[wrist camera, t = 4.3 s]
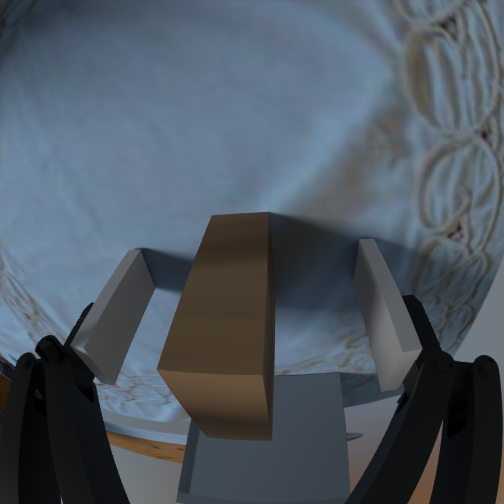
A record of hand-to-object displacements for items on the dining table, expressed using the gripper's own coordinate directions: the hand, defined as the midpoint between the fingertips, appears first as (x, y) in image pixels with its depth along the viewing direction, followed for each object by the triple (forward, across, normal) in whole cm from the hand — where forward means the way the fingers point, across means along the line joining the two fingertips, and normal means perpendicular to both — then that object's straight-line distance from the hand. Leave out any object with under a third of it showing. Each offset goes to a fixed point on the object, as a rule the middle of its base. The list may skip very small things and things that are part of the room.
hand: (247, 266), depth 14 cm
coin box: (0, 0, -19) cm, 19 cm away
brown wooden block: (0, 0, 0) cm, 0 cm away
